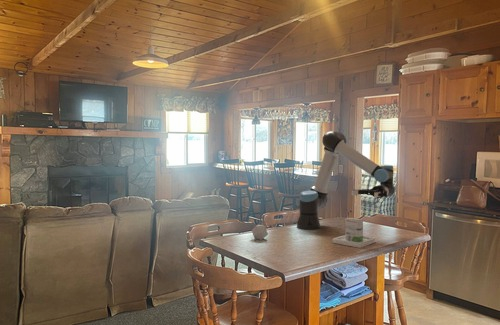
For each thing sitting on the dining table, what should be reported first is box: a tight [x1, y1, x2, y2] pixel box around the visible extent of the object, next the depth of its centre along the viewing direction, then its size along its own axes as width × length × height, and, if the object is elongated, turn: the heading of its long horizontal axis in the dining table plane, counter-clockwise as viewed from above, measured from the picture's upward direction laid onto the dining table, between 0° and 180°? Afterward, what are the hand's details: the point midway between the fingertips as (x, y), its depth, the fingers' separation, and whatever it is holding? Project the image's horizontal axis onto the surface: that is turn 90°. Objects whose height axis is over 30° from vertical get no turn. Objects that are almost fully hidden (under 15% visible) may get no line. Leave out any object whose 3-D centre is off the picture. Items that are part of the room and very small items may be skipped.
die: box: [251, 224, 269, 241], centre depth 213 cm, size 8×9×10 cm
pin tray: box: [332, 234, 377, 248], centre depth 206 cm, size 16×18×5 cm
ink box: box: [344, 217, 364, 242], centre depth 206 cm, size 9×5×12 cm, turn 40°
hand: (363, 194), depth 213 cm, fingers open, 13 cm apart
